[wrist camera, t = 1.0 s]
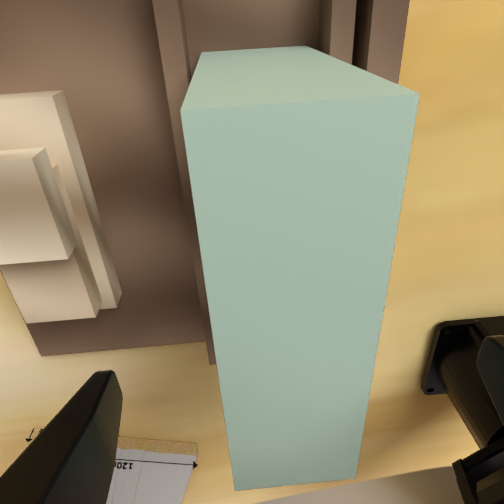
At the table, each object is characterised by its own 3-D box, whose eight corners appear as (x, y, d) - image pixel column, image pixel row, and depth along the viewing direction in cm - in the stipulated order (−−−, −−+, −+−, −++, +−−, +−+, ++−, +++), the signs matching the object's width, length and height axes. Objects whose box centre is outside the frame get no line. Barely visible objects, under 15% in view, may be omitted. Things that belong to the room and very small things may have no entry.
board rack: (346, 319, 24) (361, 353, 21) (46, 346, 23) (27, 384, 21) (385, -55, 14) (418, -68, 12) (-126, -26, 14) (-198, -34, 11)
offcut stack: (122, 293, 21) (105, 342, 17) (44, 299, 20) (14, 350, 17) (63, 89, 15) (24, 110, 12) (-43, 97, 15) (-108, 119, 12)
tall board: (300, 292, 21) (355, 478, 13) (228, 298, 21) (234, 491, 13) (305, 45, 15) (419, 93, 7) (201, 52, 15) (180, 110, 6)
